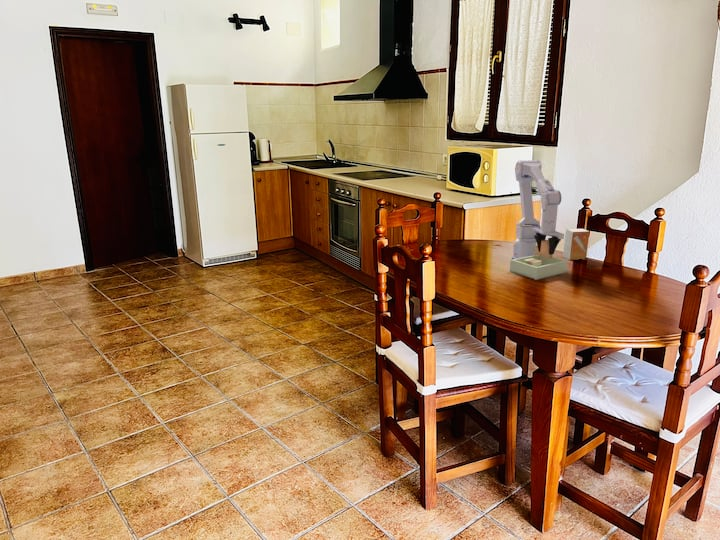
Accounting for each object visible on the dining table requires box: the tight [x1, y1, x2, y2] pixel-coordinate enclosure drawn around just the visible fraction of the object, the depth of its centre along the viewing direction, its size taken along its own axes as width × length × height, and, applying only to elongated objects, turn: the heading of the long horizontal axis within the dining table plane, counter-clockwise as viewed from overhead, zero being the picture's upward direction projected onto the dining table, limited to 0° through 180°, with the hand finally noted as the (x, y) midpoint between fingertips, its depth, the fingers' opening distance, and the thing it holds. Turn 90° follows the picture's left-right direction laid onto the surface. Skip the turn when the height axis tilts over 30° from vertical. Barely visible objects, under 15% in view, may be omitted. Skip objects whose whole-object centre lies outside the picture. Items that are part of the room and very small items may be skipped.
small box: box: [562, 228, 590, 261], centre depth 244 cm, size 8×6×13 cm
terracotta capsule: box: [539, 239, 554, 259], centre depth 225 cm, size 5×5×7 cm
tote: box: [509, 253, 568, 281], centre depth 224 cm, size 14×18×5 cm
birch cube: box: [524, 258, 542, 267], centre depth 222 cm, size 5×5×5 cm
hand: (546, 252), depth 225 cm, fingers closed on terracotta capsule, 5 cm apart
